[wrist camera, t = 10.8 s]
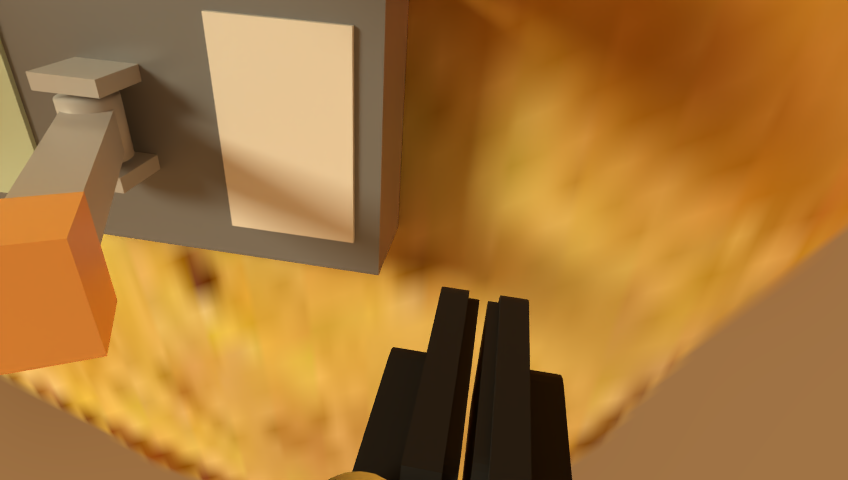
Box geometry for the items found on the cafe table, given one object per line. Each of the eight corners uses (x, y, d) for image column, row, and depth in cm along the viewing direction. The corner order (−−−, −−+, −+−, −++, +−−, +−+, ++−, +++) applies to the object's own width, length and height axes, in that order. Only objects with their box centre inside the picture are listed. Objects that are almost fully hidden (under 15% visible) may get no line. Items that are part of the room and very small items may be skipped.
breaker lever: (48, 77, 18) (-96, 256, 9) (126, 75, 19) (67, 238, 10) (73, 158, 20) (-29, 380, 11) (144, 153, 20) (106, 356, 11)
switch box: (-79, -78, 21) (-278, -78, 16) (410, -35, 19) (367, -19, 14) (14, 173, 27) (-109, 233, 22) (397, 227, 25) (364, 308, 20)
